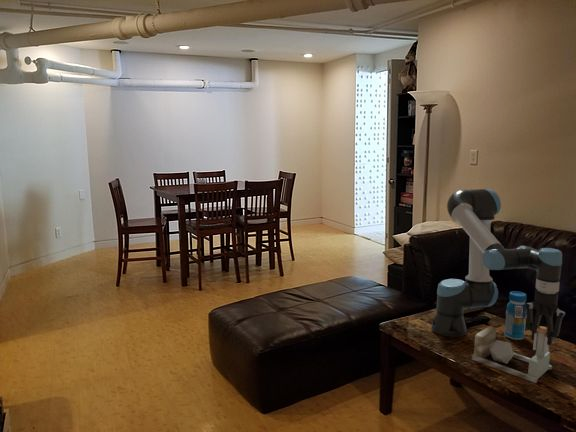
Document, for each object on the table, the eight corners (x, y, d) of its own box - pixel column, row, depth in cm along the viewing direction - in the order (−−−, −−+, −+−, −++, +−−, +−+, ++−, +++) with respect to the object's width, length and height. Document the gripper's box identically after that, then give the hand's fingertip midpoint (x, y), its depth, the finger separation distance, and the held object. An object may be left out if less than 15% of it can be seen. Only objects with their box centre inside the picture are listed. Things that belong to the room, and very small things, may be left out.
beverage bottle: (500, 335, 211) (503, 292, 207) (509, 330, 216) (513, 289, 212) (518, 342, 204) (522, 298, 201) (528, 336, 209) (532, 294, 205)
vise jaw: (526, 376, 175) (530, 331, 172) (538, 365, 183) (543, 322, 180) (537, 380, 172) (542, 334, 169) (549, 369, 180) (554, 325, 177)
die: (515, 361, 188) (505, 337, 192) (519, 360, 181) (508, 335, 184) (495, 367, 190) (485, 343, 194) (497, 366, 182) (487, 341, 186)
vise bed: (471, 359, 189) (473, 335, 187) (488, 347, 199) (490, 325, 197) (535, 383, 171) (538, 357, 169) (551, 369, 181) (553, 344, 179)
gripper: (519, 287, 175) (514, 346, 179) (567, 298, 163) (560, 361, 167) (527, 283, 180) (522, 340, 184) (574, 293, 168) (567, 354, 172)
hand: (540, 350), depth 176 cm, fingers closed on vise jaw, 3 cm apart
